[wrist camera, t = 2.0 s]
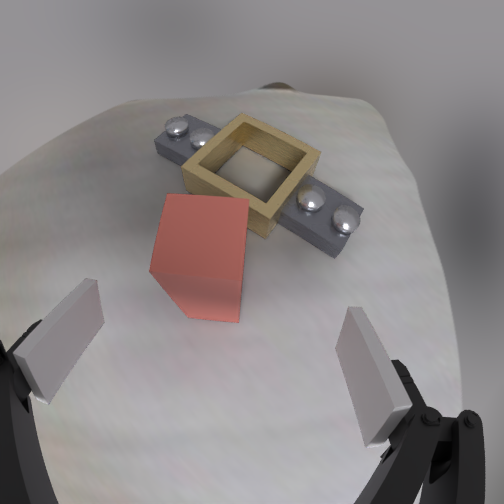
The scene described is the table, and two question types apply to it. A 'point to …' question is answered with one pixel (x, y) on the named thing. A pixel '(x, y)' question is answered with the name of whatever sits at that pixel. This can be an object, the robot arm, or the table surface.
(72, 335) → the robot arm
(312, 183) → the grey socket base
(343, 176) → the table surface
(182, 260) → the link pin
